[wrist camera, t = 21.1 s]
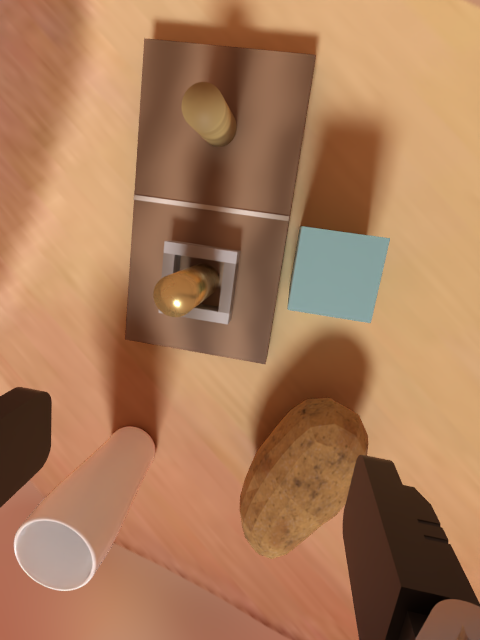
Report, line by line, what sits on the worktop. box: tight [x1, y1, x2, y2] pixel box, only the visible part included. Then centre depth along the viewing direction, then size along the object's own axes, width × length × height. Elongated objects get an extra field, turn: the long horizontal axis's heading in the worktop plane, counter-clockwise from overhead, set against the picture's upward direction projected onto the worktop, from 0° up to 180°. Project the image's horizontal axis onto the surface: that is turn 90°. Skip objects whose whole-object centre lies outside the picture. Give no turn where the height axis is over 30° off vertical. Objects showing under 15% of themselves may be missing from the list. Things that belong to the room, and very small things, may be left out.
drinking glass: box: [14, 426, 155, 591], centre depth 36 cm, size 7×7×15 cm
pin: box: [153, 264, 219, 317], centre depth 31 cm, size 3×3×9 cm
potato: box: [240, 398, 368, 559], centre depth 36 cm, size 9×16×9 cm, turn 145°
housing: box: [288, 226, 390, 323], centre depth 31 cm, size 6×6×9 cm
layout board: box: [125, 39, 316, 364], centre depth 32 cm, size 14×26×8 cm, turn 172°
